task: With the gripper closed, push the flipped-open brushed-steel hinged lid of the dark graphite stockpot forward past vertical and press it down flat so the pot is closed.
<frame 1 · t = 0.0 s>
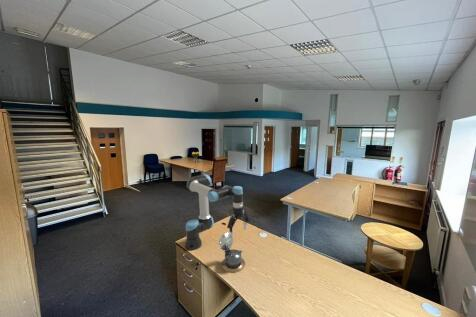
hand: (238, 232, 162), 28 cm above the table, fingers open, 13 cm apart
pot: (233, 264, 168), on the table
lid: (225, 241, 172), point 16 cm above the table, hinge at 100.0°
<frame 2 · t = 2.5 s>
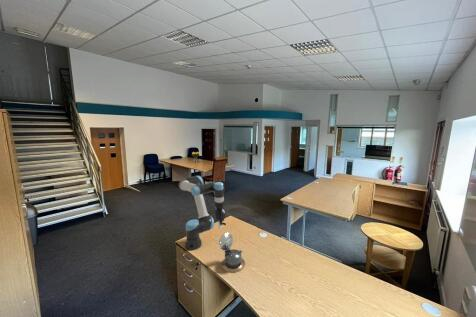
hand: (220, 228, 175), 25 cm above the table, fingers closed
nothing on the table moved.
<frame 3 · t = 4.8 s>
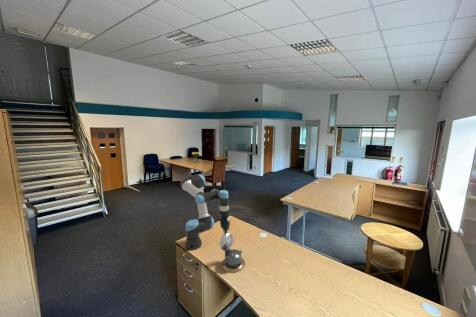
hand: (225, 236, 171), 20 cm above the table, fingers closed
lid: (226, 241, 171), point 16 cm above the table, hinge at 94.7°, touching gripper
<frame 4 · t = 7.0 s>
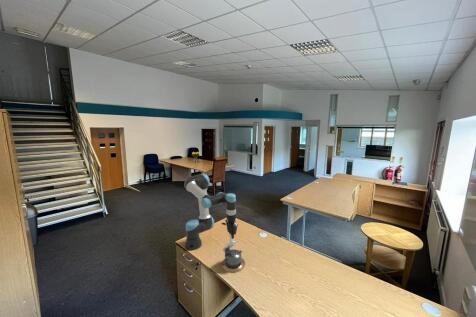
hand: (232, 241, 165), 19 cm above the table, fingers closed
lid: (229, 244, 168), point 15 cm above the table, hinge at 52.7°, touching gripper
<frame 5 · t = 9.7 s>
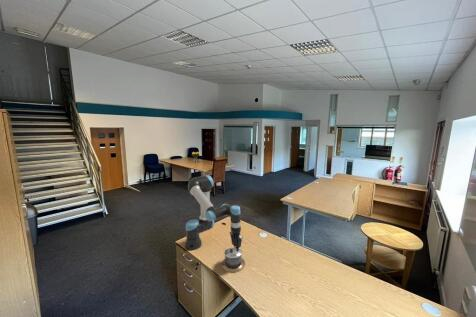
hand: (236, 254, 163), 11 cm above the table, fingers closed
lid: (232, 251, 166), point 11 cm above the table, hinge at 3.7°, touching gripper
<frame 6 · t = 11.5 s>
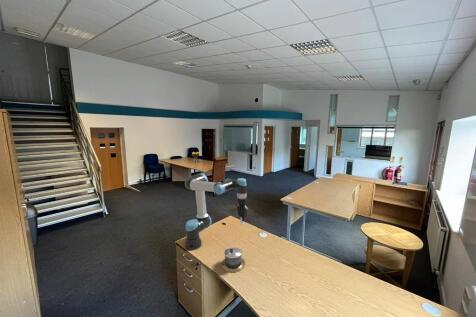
hand: (242, 224, 174), 28 cm above the table, fingers closed
lid: (232, 251, 166), point 11 cm above the table, hinge at 3.7°
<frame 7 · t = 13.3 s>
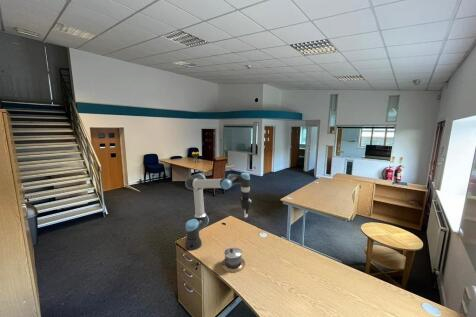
hand: (246, 216, 182), 30 cm above the table, fingers closed
nothing on the table moved.
at the end: lid at +4° (first picture: +100°) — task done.
